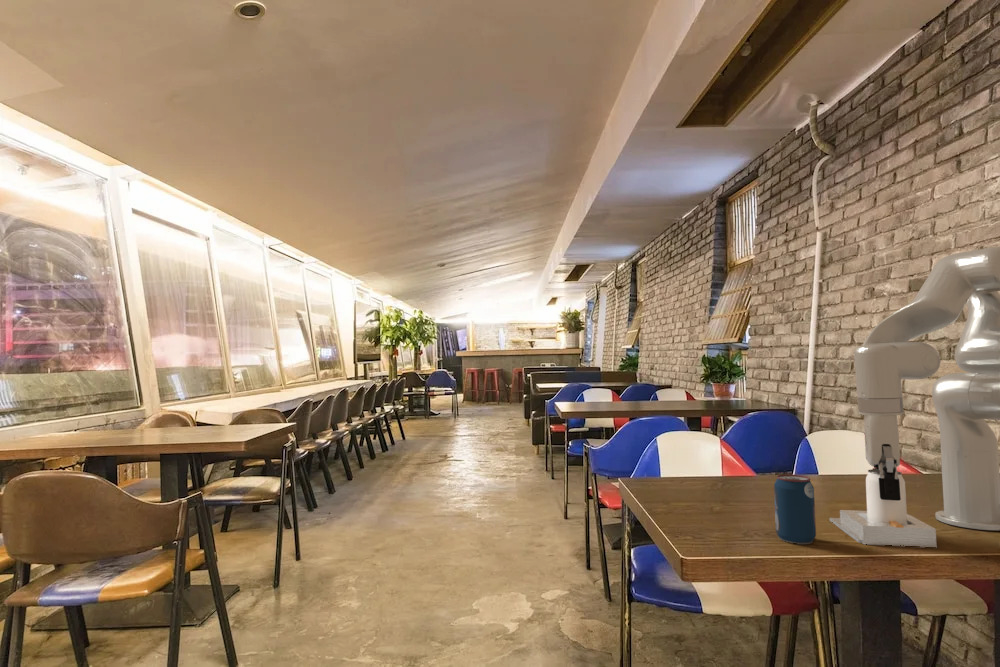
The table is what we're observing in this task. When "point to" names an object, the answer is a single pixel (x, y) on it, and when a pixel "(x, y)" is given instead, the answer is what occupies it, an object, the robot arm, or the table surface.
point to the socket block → (885, 530)
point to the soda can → (794, 509)
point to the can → (884, 501)
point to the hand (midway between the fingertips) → (886, 493)
